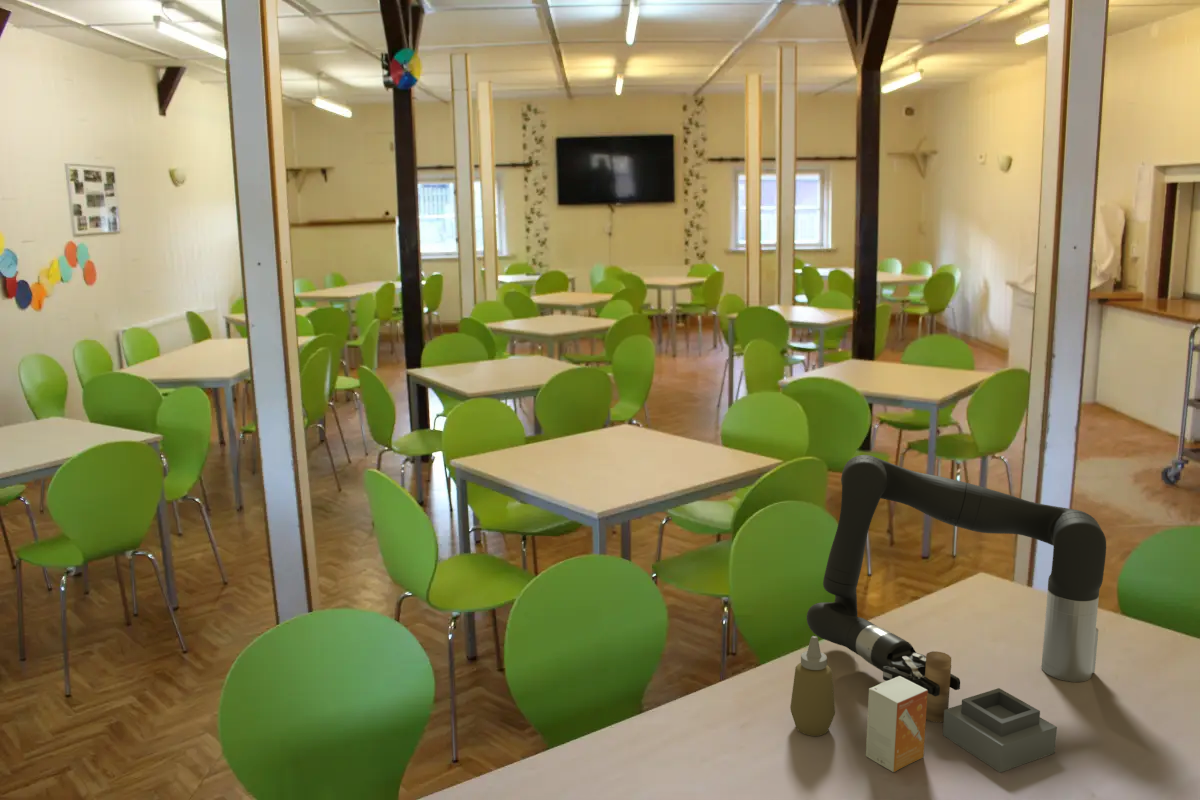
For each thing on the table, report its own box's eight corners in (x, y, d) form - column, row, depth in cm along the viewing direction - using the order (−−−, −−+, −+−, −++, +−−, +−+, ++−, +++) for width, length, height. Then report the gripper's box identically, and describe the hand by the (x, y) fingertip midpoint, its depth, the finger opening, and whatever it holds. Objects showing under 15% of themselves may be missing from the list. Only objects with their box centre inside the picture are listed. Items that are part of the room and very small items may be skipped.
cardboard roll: (935, 707, 182) (938, 649, 180) (953, 718, 178) (956, 659, 176) (917, 713, 180) (920, 654, 178) (935, 724, 176) (938, 664, 174)
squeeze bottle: (836, 720, 178) (839, 630, 175) (832, 743, 171) (835, 650, 167) (793, 713, 181) (794, 625, 177) (786, 736, 174) (788, 644, 170)
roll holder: (995, 717, 178) (998, 680, 177) (1054, 752, 167) (1058, 713, 165) (942, 735, 173) (945, 697, 171) (1000, 772, 161) (1002, 732, 160)
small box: (893, 773, 162) (897, 703, 159) (864, 756, 167) (867, 687, 164) (925, 757, 166) (928, 689, 163) (895, 741, 171) (898, 674, 169)
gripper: (856, 640, 187) (919, 678, 172) (912, 625, 193) (978, 661, 178) (855, 675, 188) (917, 716, 173) (911, 659, 194) (976, 698, 179)
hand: (948, 688), depth 175 cm, fingers closed on cardboard roll, 4 cm apart
